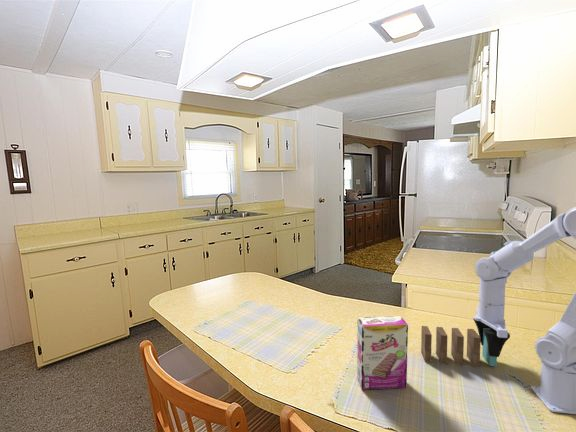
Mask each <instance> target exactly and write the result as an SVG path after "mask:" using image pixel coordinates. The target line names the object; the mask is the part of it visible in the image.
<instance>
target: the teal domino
mask: <svg viewBox="0 0 576 432" xmlns="http://www.w3.org/2000/svg"><path fill="white" fill-rule="evenodd" d="M483 329H490V328H483ZM481 354H482V357H483V358H484V360H485V361H486V363H487V364H488V365H489V366H491V367H497V361H498V360H497V359H498V357H492V356H490V355H489V352H488V344H487V339H486V336H485V334H484V332H483V345H482V349H481Z"/></svg>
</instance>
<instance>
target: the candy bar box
mask: <svg viewBox="0 0 576 432" xmlns="http://www.w3.org/2000/svg"><path fill="white" fill-rule="evenodd" d="M356 321H357V322H356V323H357V331H356V332H357V333H356V334H357V335H356V337H357V339H356V341H357V344H356V345H357V348H356V349H357V353H356V354H357V357H356V359H357V360H356V361H357V365H356V371H357V372H356V375H357V376H356V377H357V381H358V383H359V385H360V388H361V390H362V391H365V390H366V391H367V390H386V389H387V390H388V389H405V388H407V379H408V375H407V374H408V344H409V343H408V342H409V341H408V339H409V336H408V335H409V323H407V322H406V320H404V318H403V317H402V316H400V315H399V316H398V315H397V316H396V315H395V316H378V317H377V316H372V317H371V316H370V317H367V316H365V317H364V316H363V317H357V320H356Z"/></svg>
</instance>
